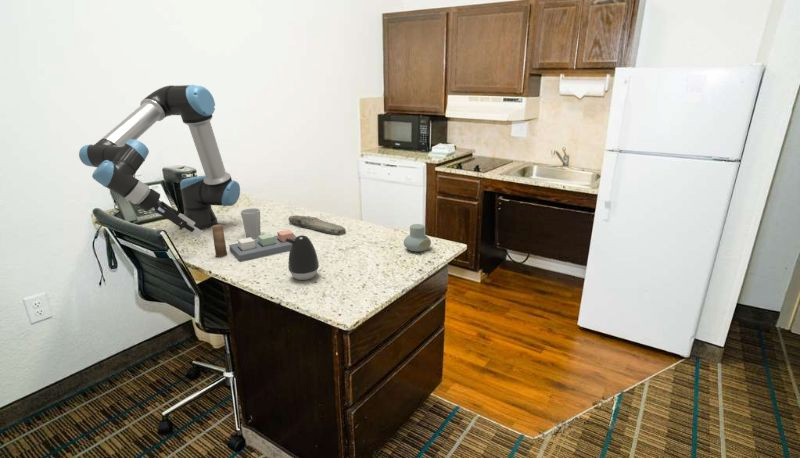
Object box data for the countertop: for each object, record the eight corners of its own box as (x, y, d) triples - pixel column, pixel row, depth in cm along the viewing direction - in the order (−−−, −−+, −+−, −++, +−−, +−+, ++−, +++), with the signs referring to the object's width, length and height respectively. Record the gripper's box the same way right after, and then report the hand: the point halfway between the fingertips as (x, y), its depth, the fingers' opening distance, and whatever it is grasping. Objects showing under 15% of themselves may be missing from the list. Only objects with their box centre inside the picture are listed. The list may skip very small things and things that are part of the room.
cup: (257, 240, 184) (254, 213, 180) (240, 239, 186) (236, 212, 182) (266, 234, 192) (263, 208, 188) (249, 233, 193) (246, 207, 189)
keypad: (229, 250, 173) (229, 245, 172) (291, 238, 187) (290, 232, 186) (240, 261, 162) (239, 255, 161) (304, 247, 176) (304, 241, 176)
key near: (238, 246, 170) (237, 239, 169) (251, 244, 173) (250, 237, 172) (242, 250, 166) (241, 243, 165) (255, 247, 169) (254, 240, 168)
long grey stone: (335, 241, 188) (350, 236, 196) (336, 229, 187) (351, 225, 195) (282, 223, 207) (298, 219, 215) (282, 212, 205) (298, 208, 213)
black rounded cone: (291, 271, 153) (287, 231, 149) (320, 270, 154) (318, 230, 149) (286, 284, 144) (282, 241, 139) (318, 282, 145) (315, 240, 140)
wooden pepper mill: (214, 254, 169) (210, 225, 165) (225, 252, 171) (221, 224, 167) (217, 258, 166) (213, 228, 162) (228, 255, 168) (224, 226, 164)
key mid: (258, 242, 174) (258, 235, 174) (270, 240, 177) (270, 233, 176) (262, 246, 171) (262, 239, 170) (275, 243, 173) (274, 236, 172)
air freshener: (418, 243, 180) (419, 220, 177) (433, 248, 175) (434, 225, 172) (400, 250, 173) (400, 226, 170) (415, 255, 168) (415, 231, 164)
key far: (277, 238, 179) (277, 232, 178) (289, 236, 182) (288, 229, 181) (282, 242, 175) (281, 235, 174) (294, 239, 178) (293, 232, 177)
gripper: (132, 197, 156) (183, 229, 169) (139, 213, 137) (197, 247, 150) (146, 181, 157) (196, 214, 170) (155, 194, 138) (211, 230, 151)
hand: (196, 230), depth 160 cm, fingers open, 13 cm apart
